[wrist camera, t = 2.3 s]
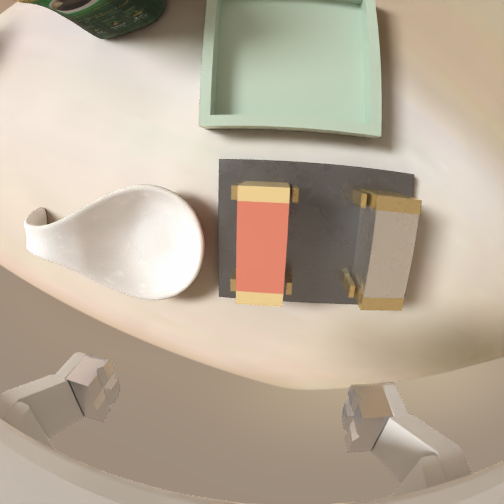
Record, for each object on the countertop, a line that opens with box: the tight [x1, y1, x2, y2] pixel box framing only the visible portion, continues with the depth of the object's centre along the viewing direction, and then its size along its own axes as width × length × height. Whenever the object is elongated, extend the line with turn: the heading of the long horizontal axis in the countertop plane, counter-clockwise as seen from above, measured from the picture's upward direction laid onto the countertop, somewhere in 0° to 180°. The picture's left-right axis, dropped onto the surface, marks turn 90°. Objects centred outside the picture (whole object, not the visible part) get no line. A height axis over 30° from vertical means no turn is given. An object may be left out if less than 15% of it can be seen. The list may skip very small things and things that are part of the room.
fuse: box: [236, 181, 290, 307], centre depth 26 cm, size 4×10×5 cm, turn 178°
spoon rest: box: [24, 184, 205, 300], centre depth 28 cm, size 24×12×7 cm, turn 86°
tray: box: [199, 0, 382, 138], centre depth 23 cm, size 16×16×3 cm
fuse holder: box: [218, 159, 422, 310], centre depth 26 cm, size 19×14×6 cm
